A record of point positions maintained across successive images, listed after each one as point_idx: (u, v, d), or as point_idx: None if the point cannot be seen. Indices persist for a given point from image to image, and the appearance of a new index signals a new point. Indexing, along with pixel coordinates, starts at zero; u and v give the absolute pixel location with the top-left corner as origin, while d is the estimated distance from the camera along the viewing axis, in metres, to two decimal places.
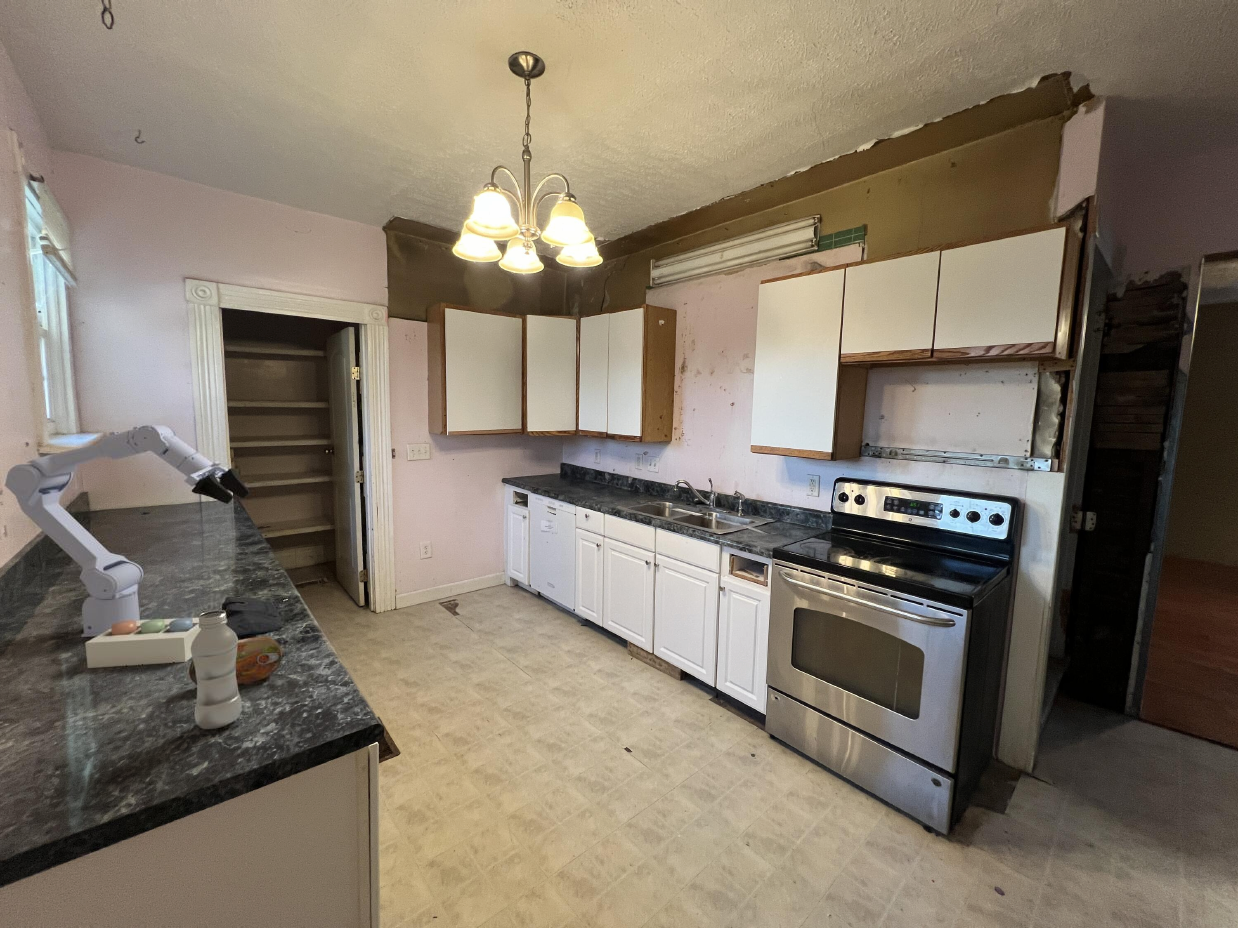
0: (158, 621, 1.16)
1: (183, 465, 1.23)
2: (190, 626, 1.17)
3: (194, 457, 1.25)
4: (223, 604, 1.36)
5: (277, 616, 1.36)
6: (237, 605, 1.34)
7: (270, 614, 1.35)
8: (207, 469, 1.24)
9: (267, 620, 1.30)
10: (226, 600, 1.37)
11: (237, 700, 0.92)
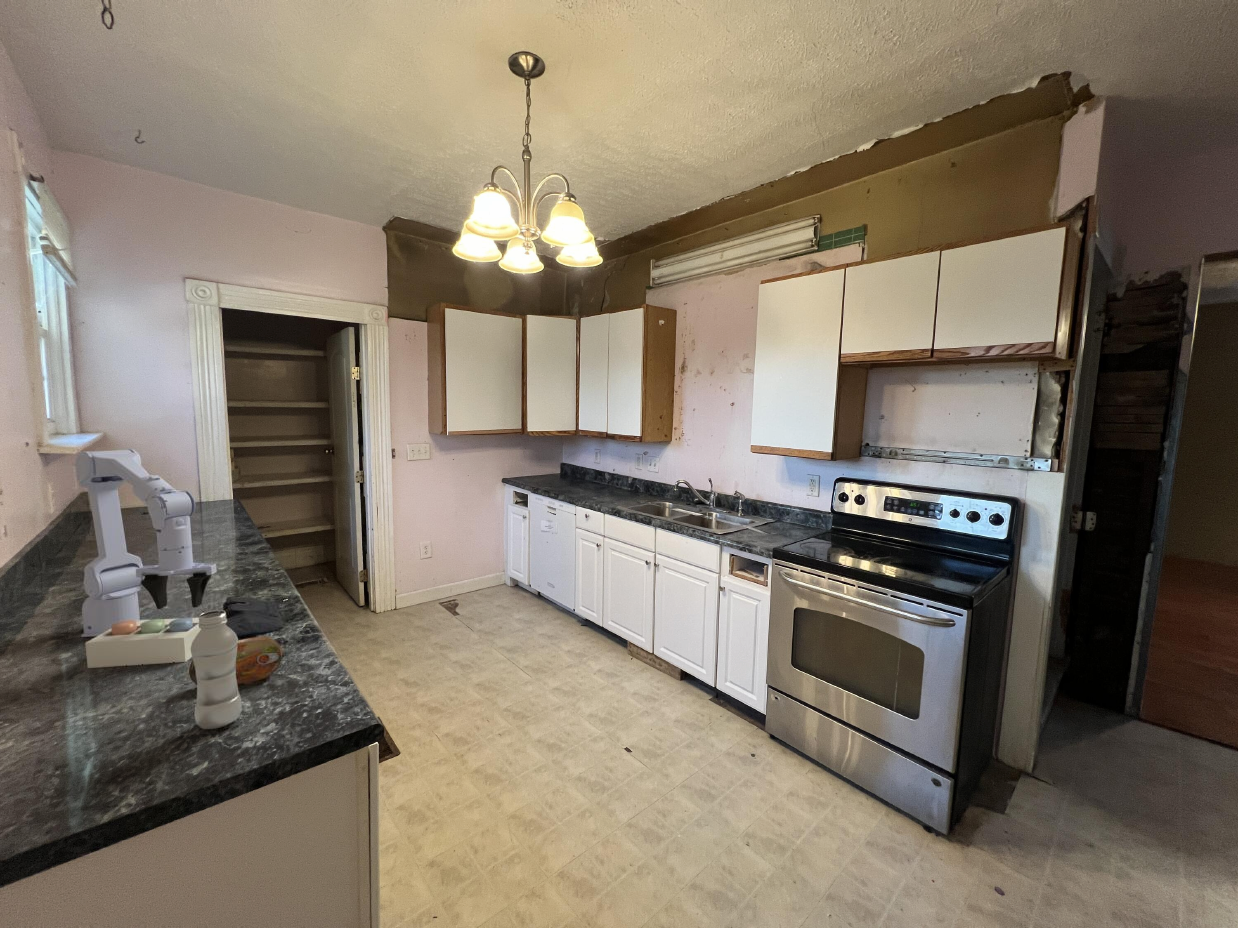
0: (158, 621, 1.16)
1: None
2: (190, 626, 1.17)
3: (159, 553, 1.12)
4: (224, 604, 1.36)
5: (278, 616, 1.35)
6: (238, 605, 1.34)
7: (271, 614, 1.35)
8: (156, 572, 1.12)
9: (267, 620, 1.30)
10: (227, 600, 1.37)
11: (237, 700, 0.92)
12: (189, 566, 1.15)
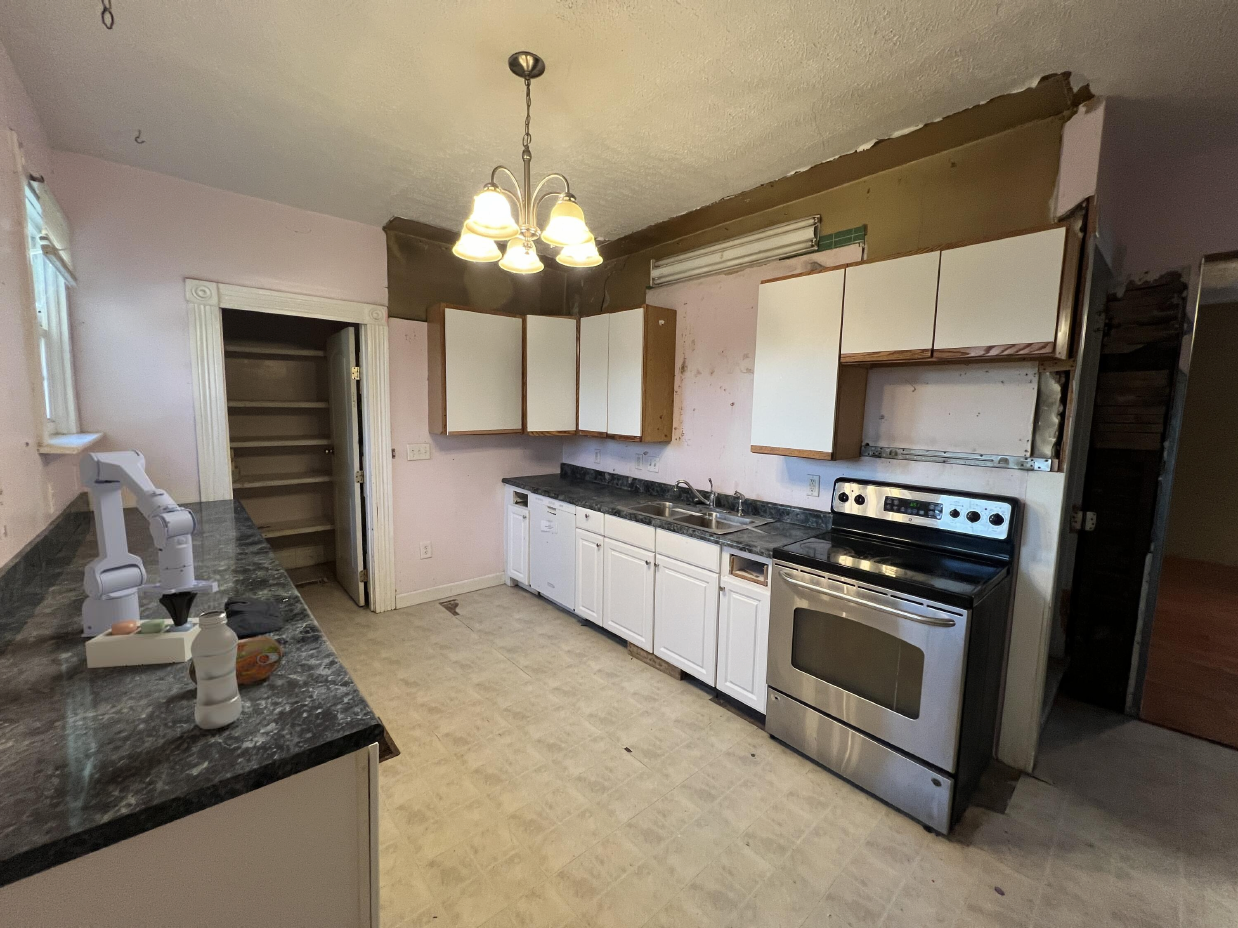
0: (158, 621, 1.16)
1: None
2: None
3: (161, 572, 1.12)
4: (225, 604, 1.36)
5: (278, 616, 1.35)
6: (239, 605, 1.34)
7: (271, 614, 1.35)
8: (157, 591, 1.13)
9: (268, 620, 1.30)
10: (228, 600, 1.37)
11: (237, 700, 0.92)
12: (190, 584, 1.15)
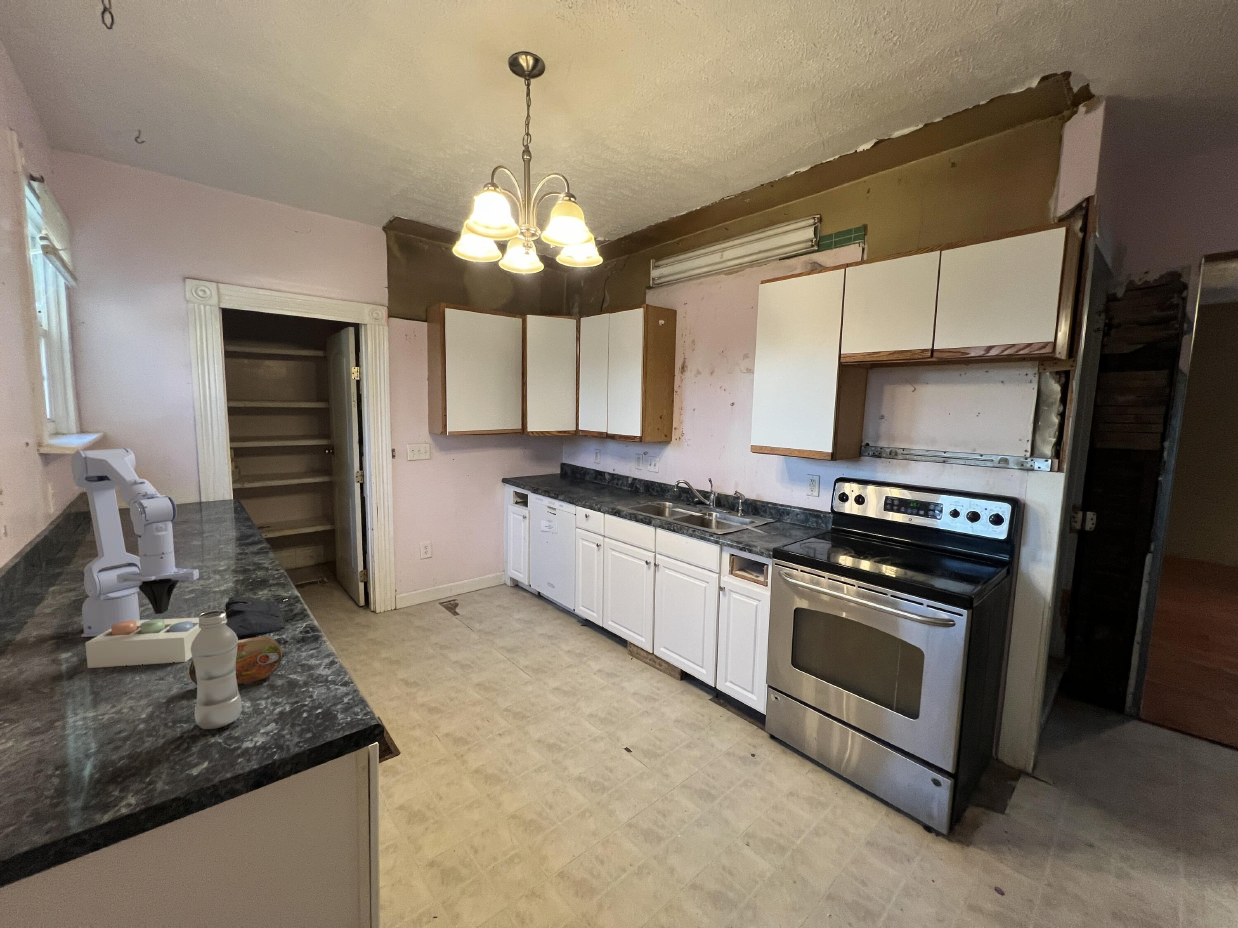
0: (158, 621, 1.16)
1: None
2: None
3: (140, 559, 1.12)
4: (226, 604, 1.37)
5: (279, 616, 1.35)
6: (240, 605, 1.34)
7: (272, 614, 1.35)
8: (137, 578, 1.12)
9: (269, 620, 1.30)
10: (229, 600, 1.37)
11: (237, 700, 0.92)
12: (171, 572, 1.14)
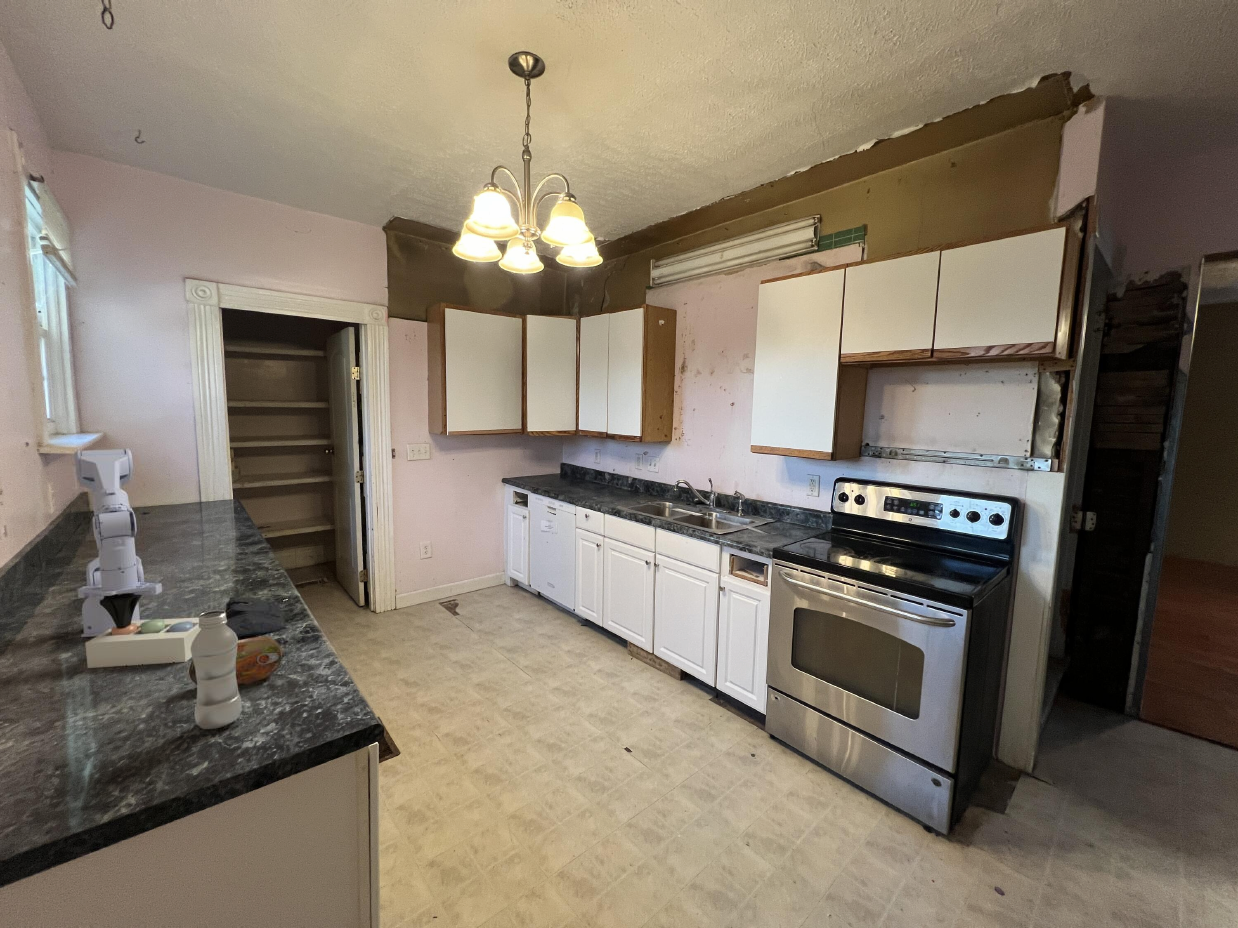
0: (158, 621, 1.16)
1: None
2: None
3: (101, 574, 1.10)
4: (227, 604, 1.37)
5: (280, 616, 1.35)
6: (240, 605, 1.34)
7: (273, 614, 1.35)
8: (98, 592, 1.11)
9: (269, 620, 1.30)
10: (230, 600, 1.37)
11: (237, 700, 0.92)
12: (133, 586, 1.13)
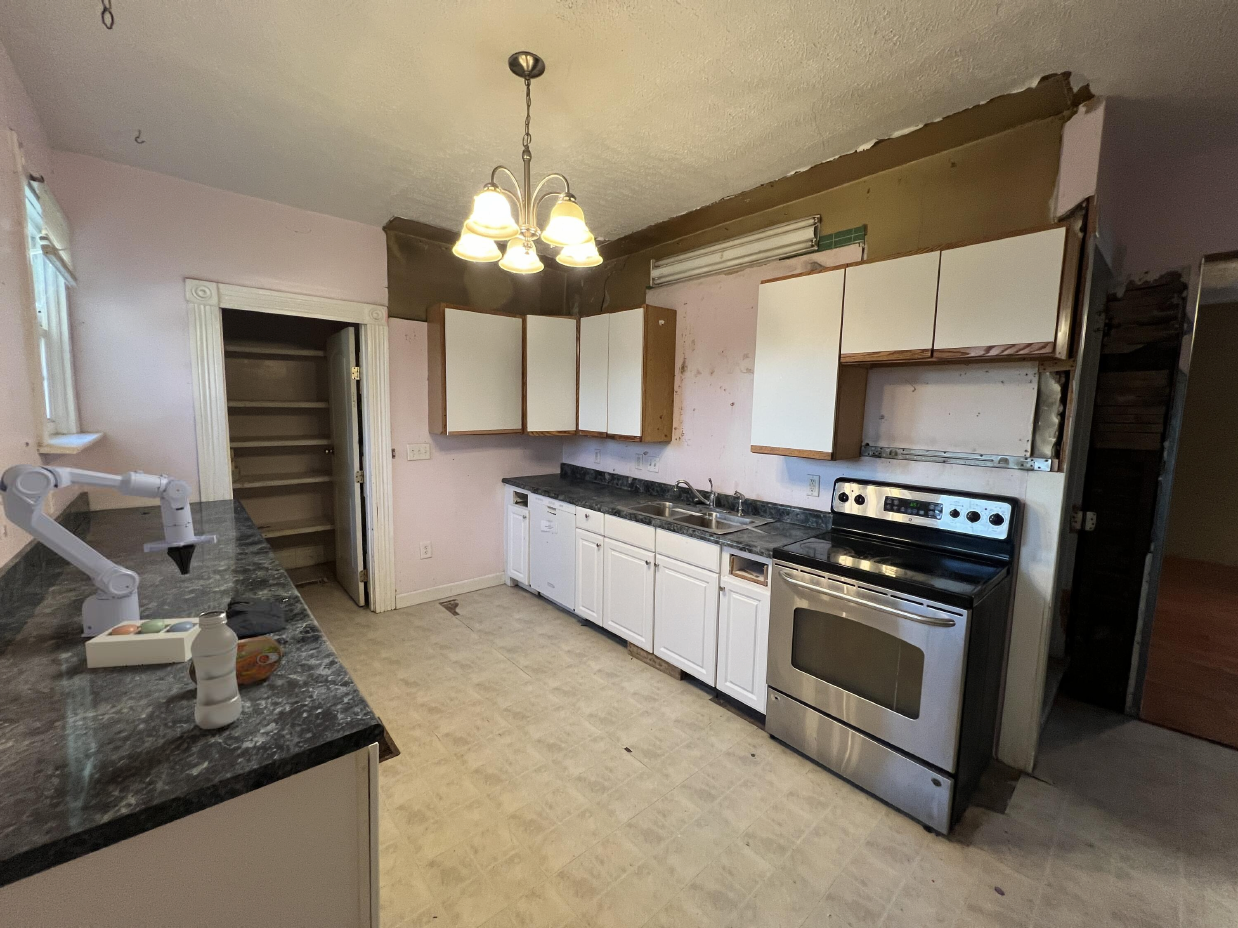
0: (158, 621, 1.16)
1: None
2: None
3: (167, 529, 1.33)
4: (229, 604, 1.37)
5: (281, 617, 1.35)
6: (242, 605, 1.34)
7: (274, 614, 1.35)
8: (165, 545, 1.33)
9: (270, 621, 1.30)
10: (232, 600, 1.37)
11: (237, 700, 0.92)
12: (193, 538, 1.37)
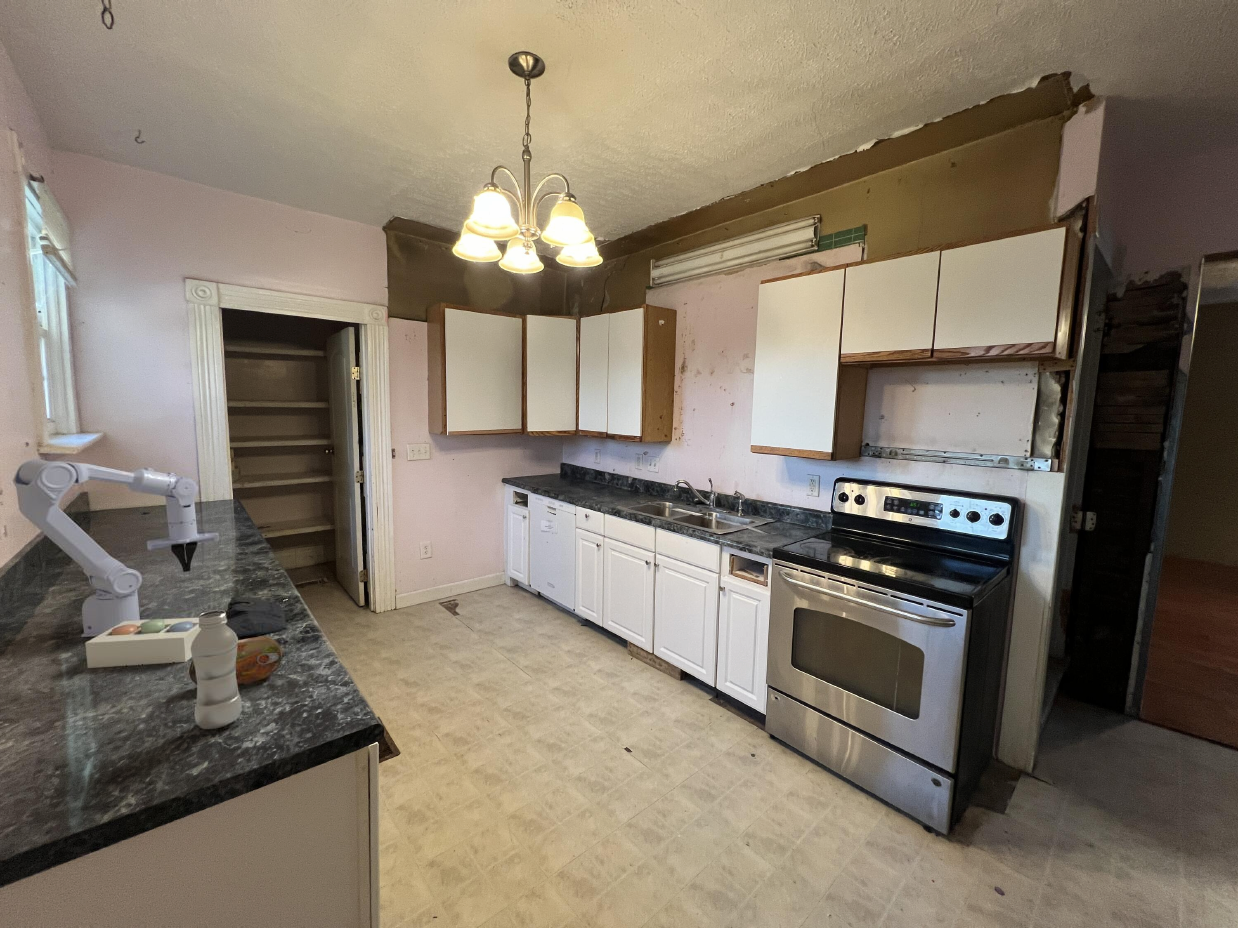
0: (158, 621, 1.16)
1: (168, 524, 1.36)
2: None
3: (173, 526, 1.35)
4: (229, 604, 1.37)
5: (281, 616, 1.35)
6: (242, 605, 1.34)
7: (274, 614, 1.35)
8: (170, 542, 1.35)
9: (271, 621, 1.30)
10: (232, 600, 1.37)
11: (237, 700, 0.92)
12: (197, 536, 1.40)
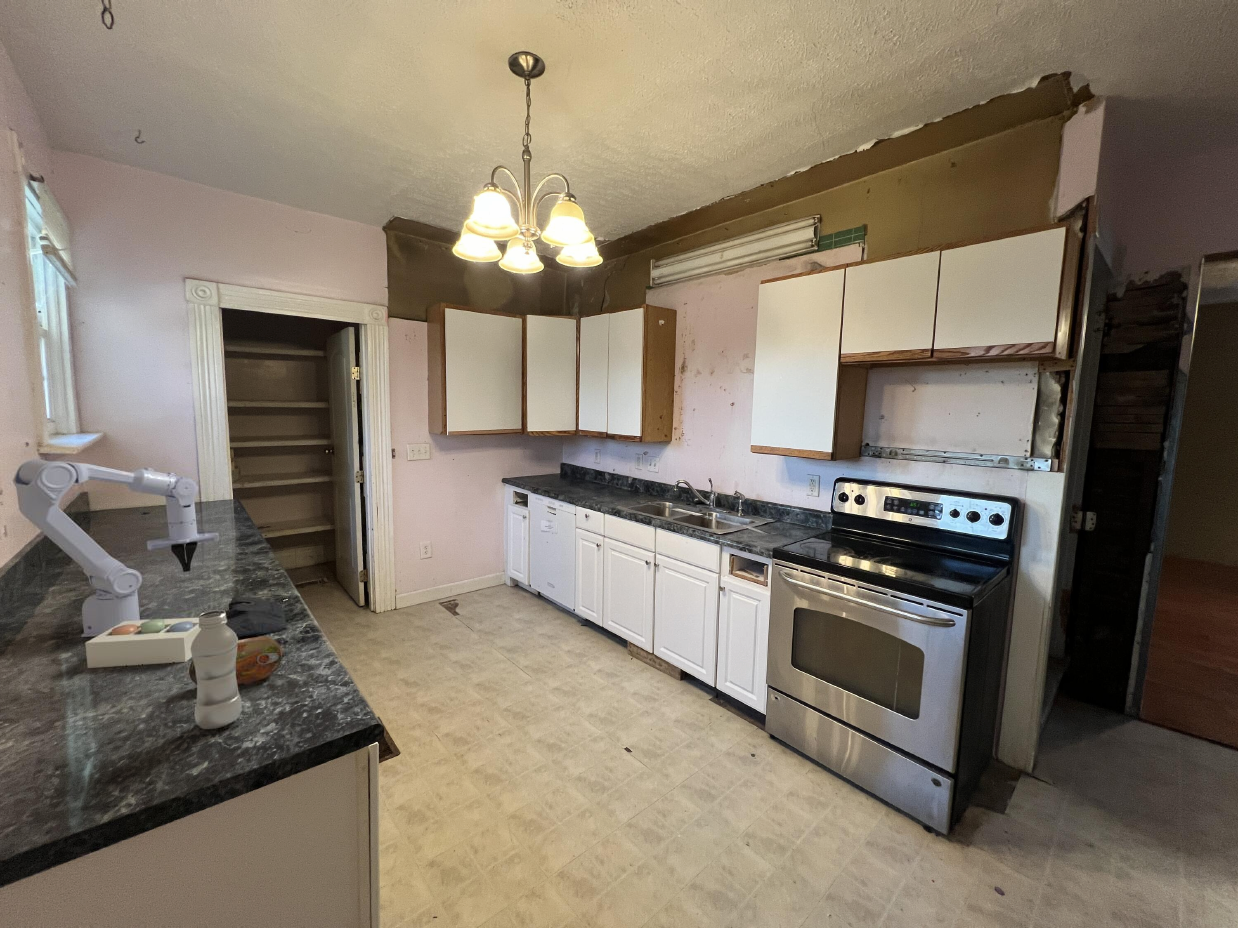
0: (158, 621, 1.16)
1: (168, 524, 1.36)
2: None
3: (173, 526, 1.35)
4: (230, 604, 1.37)
5: (282, 617, 1.35)
6: (243, 605, 1.34)
7: (275, 614, 1.35)
8: (170, 542, 1.35)
9: (271, 621, 1.30)
10: (233, 600, 1.37)
11: (237, 700, 0.92)
12: (197, 536, 1.40)
